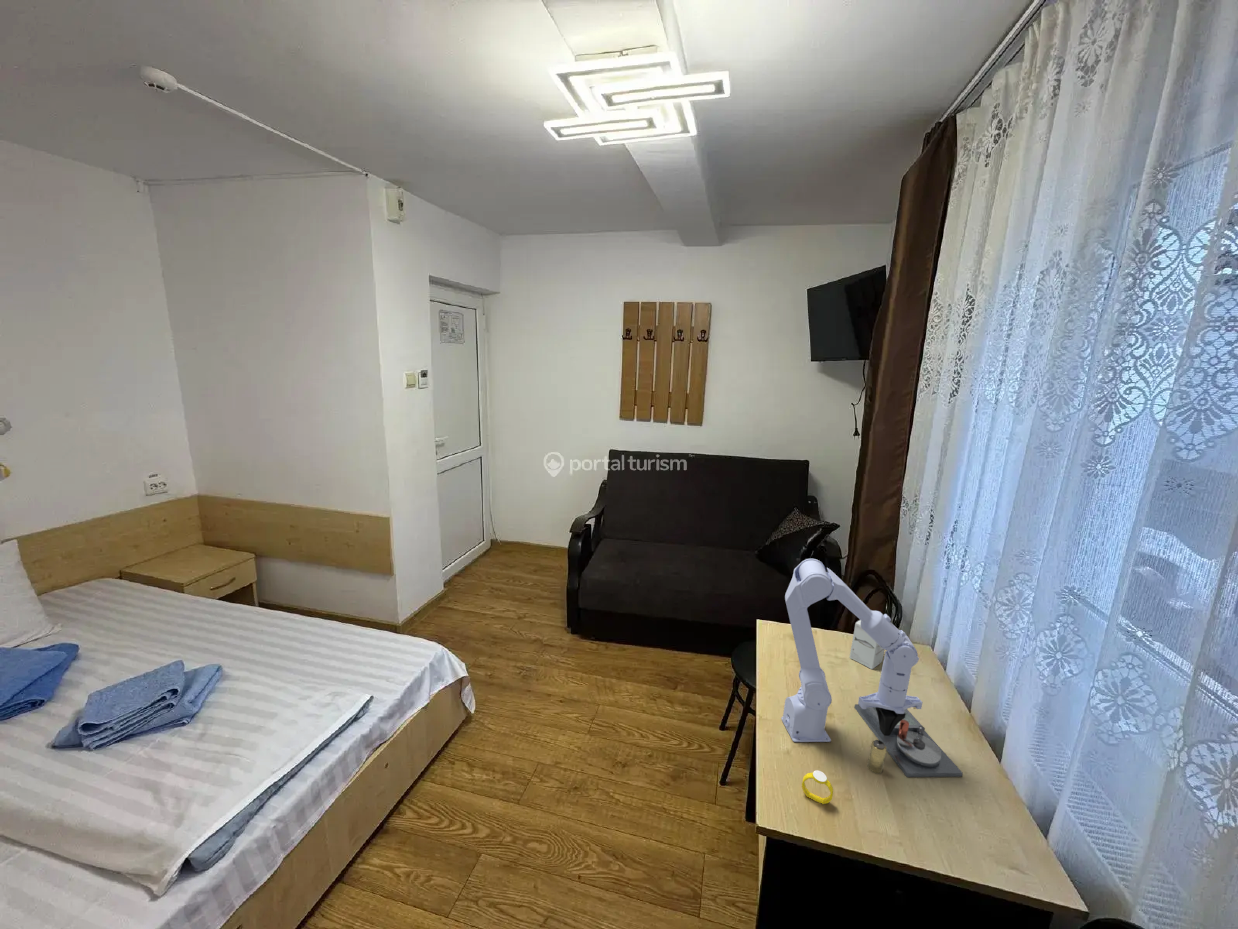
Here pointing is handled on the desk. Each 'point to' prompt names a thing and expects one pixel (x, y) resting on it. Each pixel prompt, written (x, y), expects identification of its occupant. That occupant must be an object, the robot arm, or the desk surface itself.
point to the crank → (917, 746)
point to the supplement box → (865, 648)
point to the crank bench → (907, 766)
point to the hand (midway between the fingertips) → (884, 732)
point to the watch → (820, 779)
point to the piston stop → (876, 756)
